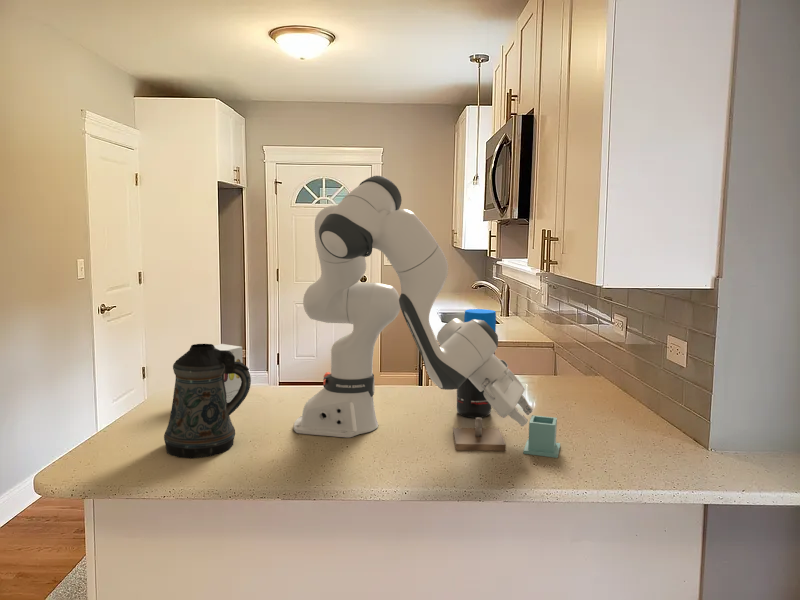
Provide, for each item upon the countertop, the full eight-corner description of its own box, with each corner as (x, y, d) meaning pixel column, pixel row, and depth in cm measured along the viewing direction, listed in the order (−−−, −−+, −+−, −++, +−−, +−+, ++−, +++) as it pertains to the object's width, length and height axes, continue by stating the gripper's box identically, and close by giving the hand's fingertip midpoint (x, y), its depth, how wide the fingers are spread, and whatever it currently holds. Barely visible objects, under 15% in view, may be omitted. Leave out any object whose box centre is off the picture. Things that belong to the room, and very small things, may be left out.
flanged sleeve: (523, 453, 146) (524, 423, 145) (527, 442, 153) (528, 413, 153) (557, 457, 143) (559, 427, 143) (560, 446, 151) (561, 417, 150)
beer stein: (154, 444, 150) (150, 344, 147) (229, 428, 162) (227, 335, 159) (179, 464, 137) (175, 355, 134) (258, 445, 149) (256, 345, 146)
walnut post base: (455, 449, 148) (456, 425, 147) (452, 433, 160) (453, 410, 159) (505, 450, 148) (506, 426, 147) (498, 433, 160) (499, 411, 159)
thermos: (477, 376, 220) (479, 308, 217) (500, 383, 212) (502, 311, 209) (456, 381, 213) (457, 310, 210) (479, 388, 205) (481, 314, 202)
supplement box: (220, 407, 180) (219, 351, 178) (199, 402, 185) (197, 348, 183) (244, 399, 188) (243, 346, 186) (222, 395, 193) (221, 343, 191)
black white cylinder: (498, 417, 174) (500, 330, 171) (466, 420, 170) (468, 332, 167) (480, 407, 183) (482, 324, 180) (449, 410, 179) (451, 326, 176)
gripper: (490, 376, 139) (532, 422, 137) (505, 358, 158) (542, 399, 156) (470, 393, 141) (511, 439, 139) (487, 374, 160) (524, 414, 158)
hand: (528, 418), depth 148 cm, fingers open, 8 cm apart
